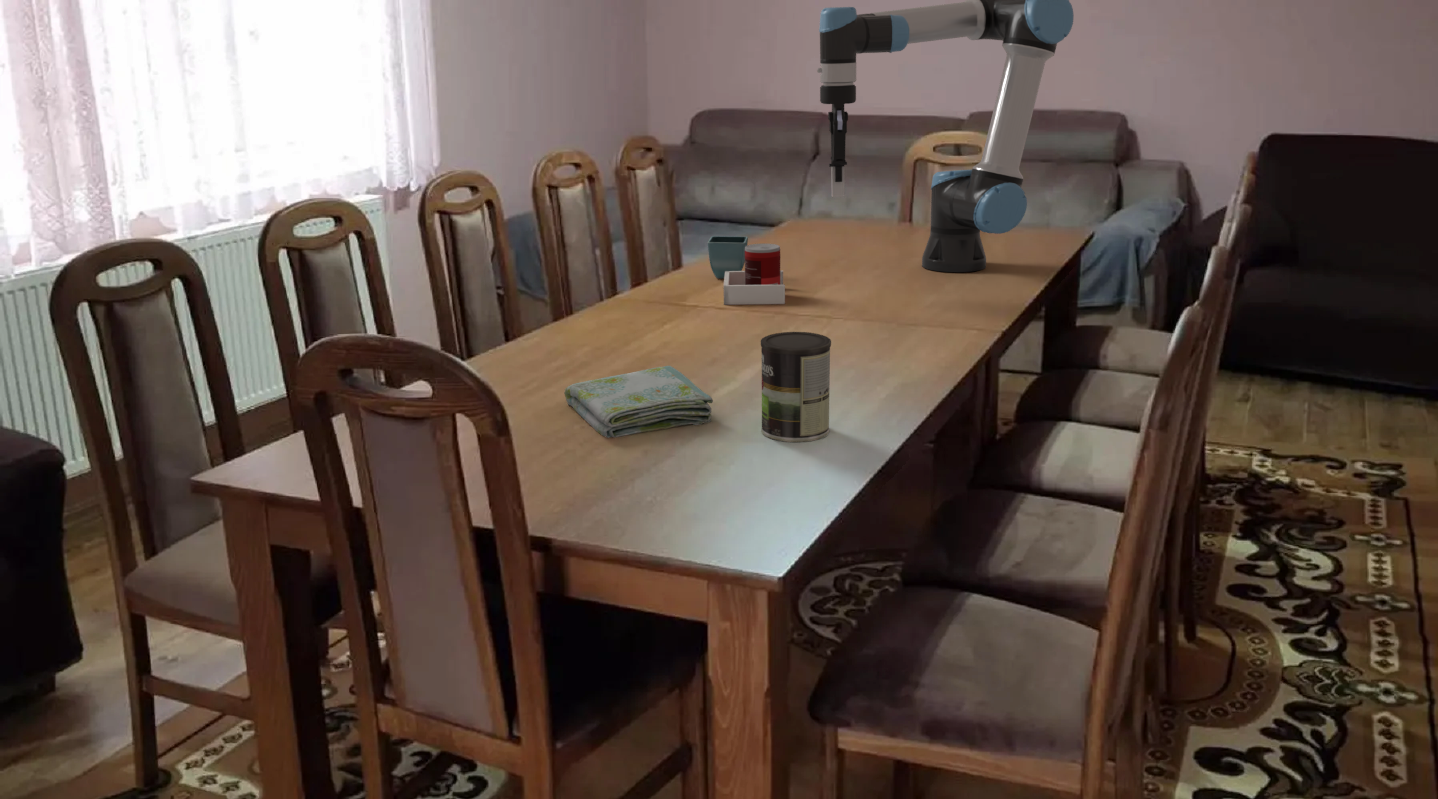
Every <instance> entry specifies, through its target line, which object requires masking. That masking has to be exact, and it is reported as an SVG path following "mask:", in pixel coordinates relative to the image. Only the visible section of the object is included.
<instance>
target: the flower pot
mask: <svg viewBox="0 0 1438 799" xmlns="http://www.w3.org/2000/svg"><path fill="white" fill-rule="evenodd" d="M748 238H749V237H748V236H731V235H729V236H726V235H723V236H722V235H720V236H719V235H718V236H717V235H713V236H712V235H711V236H710V238H709V240H708V241H707V243H706V244H707V249H708V250H707V251H708V258H709V259H708V261H709V264H710V269H711V270H712V273H713V275H714V276H715V278H716V279H724V276H725V271H743V268H744V267H745V247H746V246H748V240H749V239H748Z"/></svg>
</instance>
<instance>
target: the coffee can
mask: <svg viewBox="0 0 1438 799" xmlns="http://www.w3.org/2000/svg"><path fill="white" fill-rule="evenodd" d="M831 346H832V340H831V338H830V337H828V336H825V335H823V334H819V333H816V332H815V333H814V332H808V331H806V332H805V331H784V332H778V333H773V334H772V333H771V334H768V335H765V336H763V337H762V338H761V339H760V347H761V431H760V432H761V434H762V435H763V436H764V437H766V438H767V439H771V440H775V441H778V442H783V443H805V442H814V441H818V440H821V439H824V438H825V437H826V436H828V435H829V433H830V379H831V378H830V376H831V375H830V374H831V371H830V370H831Z"/></svg>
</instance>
